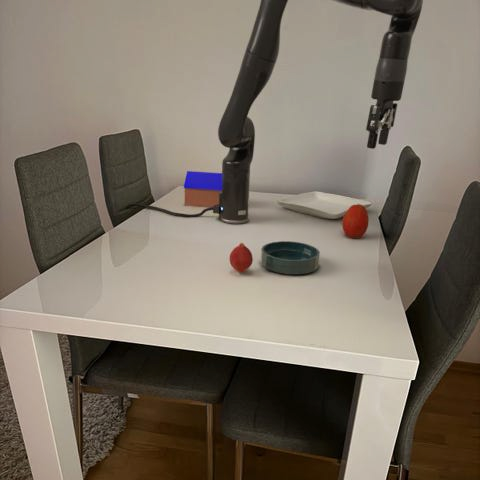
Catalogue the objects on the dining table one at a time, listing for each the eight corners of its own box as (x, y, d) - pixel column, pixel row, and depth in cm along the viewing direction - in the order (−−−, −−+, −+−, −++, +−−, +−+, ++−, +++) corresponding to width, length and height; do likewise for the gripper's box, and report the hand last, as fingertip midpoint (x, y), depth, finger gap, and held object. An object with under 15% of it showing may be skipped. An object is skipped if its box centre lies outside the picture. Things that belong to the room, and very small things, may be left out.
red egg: (349, 230, 151) (354, 198, 146) (371, 236, 146) (377, 203, 141) (335, 235, 146) (340, 202, 141) (357, 242, 141) (363, 207, 136)
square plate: (372, 211, 175) (374, 201, 173) (334, 224, 157) (335, 213, 155) (314, 198, 191) (315, 189, 189) (273, 209, 173) (274, 198, 171)
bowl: (250, 267, 119) (251, 252, 117) (276, 251, 130) (277, 237, 128) (304, 281, 112) (305, 265, 110) (326, 263, 124) (328, 248, 122)
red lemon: (228, 268, 118) (229, 238, 114) (250, 268, 118) (252, 238, 114) (230, 277, 113) (230, 246, 109) (253, 277, 113) (254, 246, 109)
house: (235, 209, 171) (236, 177, 165) (183, 205, 173) (183, 173, 168) (240, 201, 181) (241, 171, 176) (191, 198, 184) (191, 168, 178)
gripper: (384, 77, 122) (372, 141, 131) (365, 78, 112) (353, 147, 120) (412, 79, 119) (398, 145, 127) (394, 80, 109) (380, 151, 117)
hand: (376, 146), depth 124 cm, fingers open, 8 cm apart
